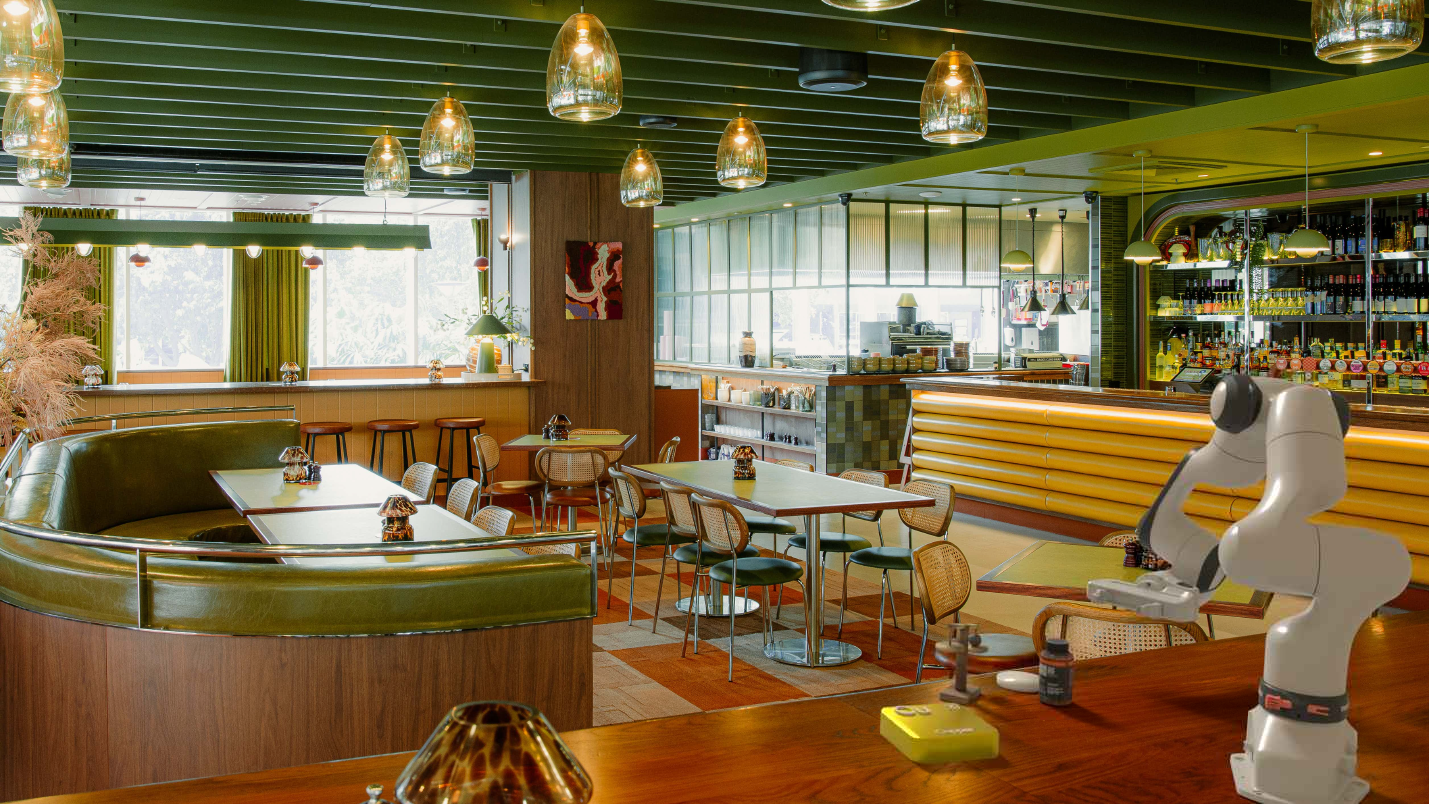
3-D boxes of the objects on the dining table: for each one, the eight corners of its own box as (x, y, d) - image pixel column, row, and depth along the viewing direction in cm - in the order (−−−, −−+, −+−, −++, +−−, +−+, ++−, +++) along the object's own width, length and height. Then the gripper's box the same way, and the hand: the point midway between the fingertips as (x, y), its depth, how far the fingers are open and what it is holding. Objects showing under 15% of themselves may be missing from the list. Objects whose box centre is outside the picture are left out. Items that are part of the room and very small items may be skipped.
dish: (1037, 695, 201) (1038, 689, 201) (990, 685, 206) (990, 679, 206) (1051, 683, 209) (1051, 677, 209) (1004, 674, 214) (1005, 668, 214)
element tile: (915, 767, 166) (917, 736, 166) (875, 732, 181) (876, 704, 181) (1003, 760, 171) (1004, 730, 170) (957, 726, 185) (958, 698, 185)
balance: (955, 713, 190) (959, 629, 189) (928, 707, 193) (932, 624, 192) (990, 686, 206) (993, 608, 205) (964, 680, 209) (968, 604, 208)
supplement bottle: (1068, 697, 201) (1071, 637, 200) (1075, 708, 195) (1078, 646, 194) (1034, 695, 201) (1038, 635, 201) (1041, 706, 196) (1044, 644, 195)
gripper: (1110, 568, 222) (1069, 576, 213) (1207, 590, 205) (1167, 600, 197) (1108, 599, 222) (1068, 608, 214) (1205, 623, 206) (1165, 634, 197)
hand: (1116, 604), depth 205 cm, fingers open, 8 cm apart
